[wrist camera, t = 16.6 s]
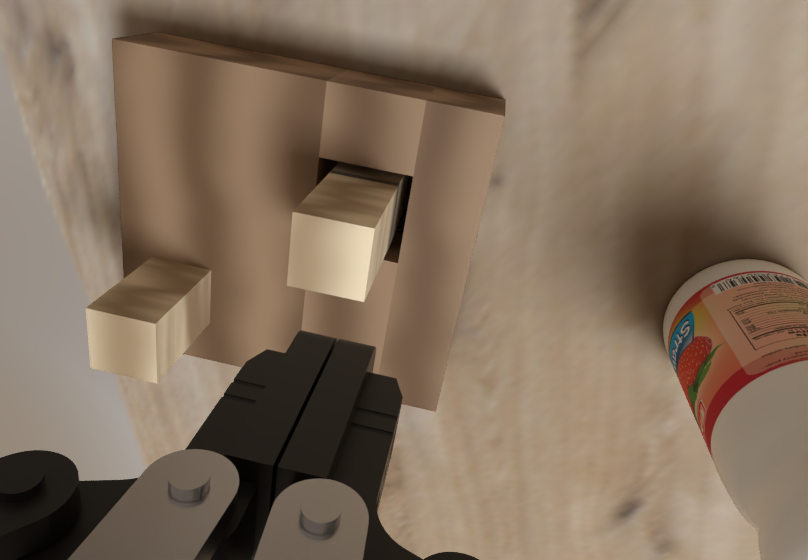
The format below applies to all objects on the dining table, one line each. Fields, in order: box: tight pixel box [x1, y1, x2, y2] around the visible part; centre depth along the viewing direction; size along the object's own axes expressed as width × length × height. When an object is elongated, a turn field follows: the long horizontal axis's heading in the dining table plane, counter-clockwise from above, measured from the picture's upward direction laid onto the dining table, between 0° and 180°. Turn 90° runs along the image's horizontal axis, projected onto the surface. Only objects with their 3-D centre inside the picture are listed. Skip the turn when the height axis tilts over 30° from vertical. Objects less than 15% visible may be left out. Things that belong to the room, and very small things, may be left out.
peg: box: [287, 162, 409, 302], centre depth 36 cm, size 4×4×12 cm
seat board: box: [86, 32, 505, 412], centre depth 37 cm, size 22×20×12 cm
